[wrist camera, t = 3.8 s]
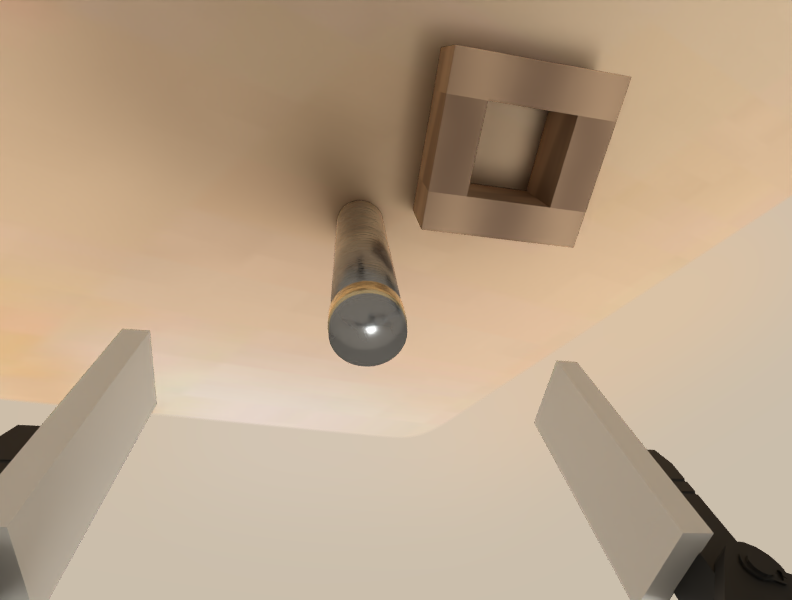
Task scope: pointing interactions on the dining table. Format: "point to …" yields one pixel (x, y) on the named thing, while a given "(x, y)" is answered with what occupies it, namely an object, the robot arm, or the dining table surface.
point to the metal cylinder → (364, 290)
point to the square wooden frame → (556, 157)
